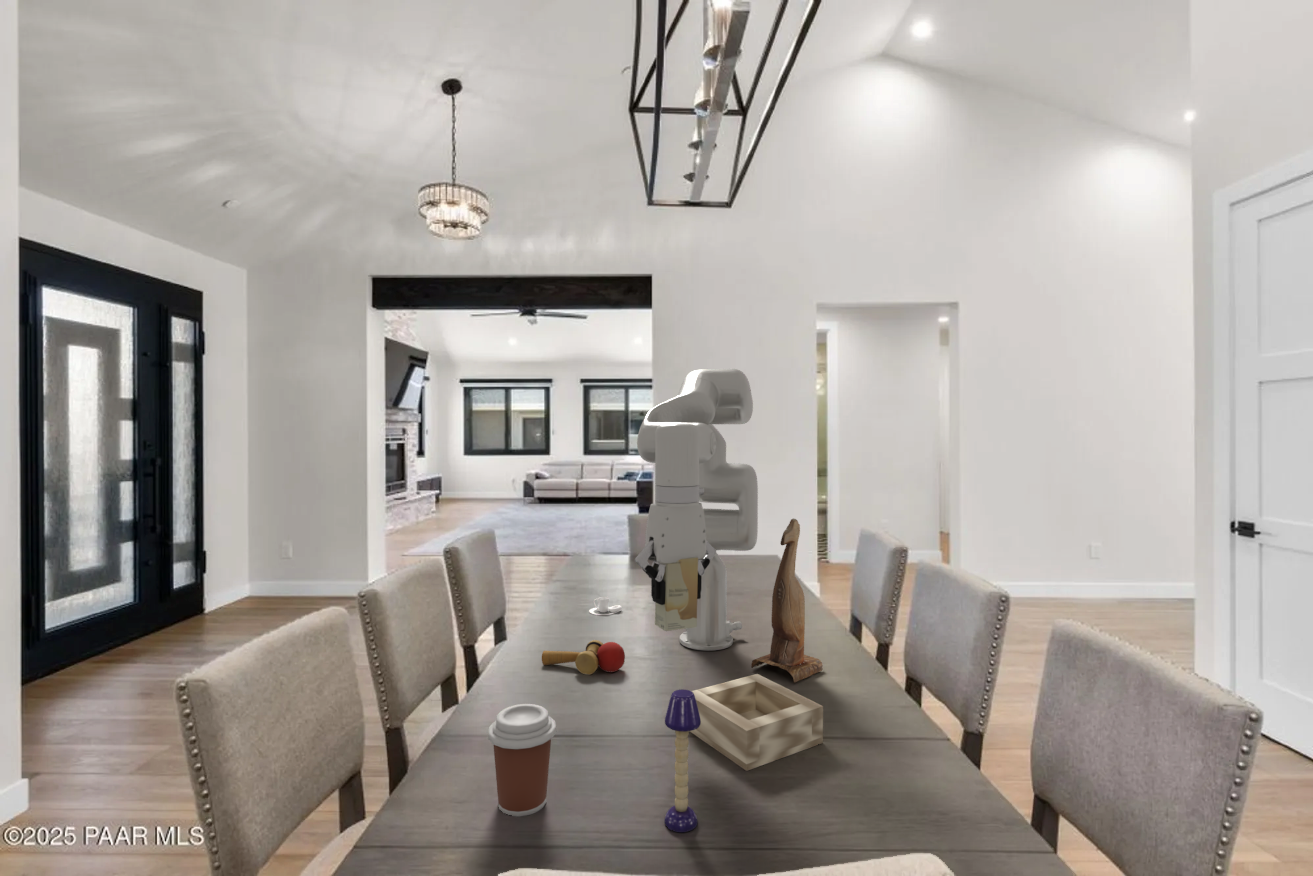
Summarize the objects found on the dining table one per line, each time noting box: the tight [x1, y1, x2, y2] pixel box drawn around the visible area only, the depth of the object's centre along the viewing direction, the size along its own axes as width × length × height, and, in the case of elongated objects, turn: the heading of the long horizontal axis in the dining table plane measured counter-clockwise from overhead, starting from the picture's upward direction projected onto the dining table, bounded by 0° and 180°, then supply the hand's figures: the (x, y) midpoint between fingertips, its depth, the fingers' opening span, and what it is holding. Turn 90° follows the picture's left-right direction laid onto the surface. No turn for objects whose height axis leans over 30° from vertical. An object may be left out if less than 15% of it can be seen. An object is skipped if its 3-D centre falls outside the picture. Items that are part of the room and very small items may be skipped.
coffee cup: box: [487, 703, 557, 818], centre depth 87 cm, size 9×9×12 cm
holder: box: [689, 673, 824, 772], centre depth 106 cm, size 16×16×6 cm
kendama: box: [541, 639, 626, 675], centre depth 136 cm, size 8×6×18 cm
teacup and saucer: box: [588, 596, 623, 616], centre depth 177 cm, size 9×8×4 cm
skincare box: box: [654, 557, 698, 632], centre depth 110 cm, size 6×4×12 cm
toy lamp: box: [664, 688, 701, 833], centre depth 83 cm, size 5×5×17 cm
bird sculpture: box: [750, 518, 824, 683], centre depth 135 cm, size 11×12×32 cm
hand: (676, 599), depth 110 cm, fingers closed on skincare box, 6 cm apart
